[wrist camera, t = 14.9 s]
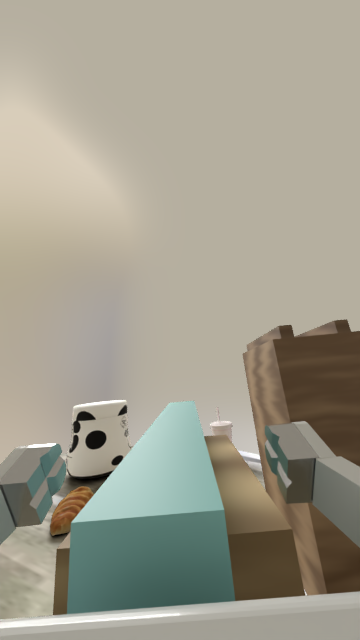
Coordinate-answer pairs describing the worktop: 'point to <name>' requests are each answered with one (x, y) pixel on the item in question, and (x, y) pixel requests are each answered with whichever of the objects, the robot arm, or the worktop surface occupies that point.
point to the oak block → (234, 534)
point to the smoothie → (221, 427)
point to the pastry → (69, 510)
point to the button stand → (325, 419)
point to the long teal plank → (154, 526)
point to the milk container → (98, 439)
